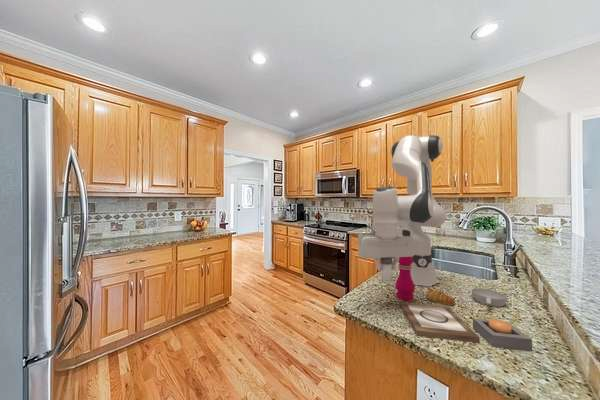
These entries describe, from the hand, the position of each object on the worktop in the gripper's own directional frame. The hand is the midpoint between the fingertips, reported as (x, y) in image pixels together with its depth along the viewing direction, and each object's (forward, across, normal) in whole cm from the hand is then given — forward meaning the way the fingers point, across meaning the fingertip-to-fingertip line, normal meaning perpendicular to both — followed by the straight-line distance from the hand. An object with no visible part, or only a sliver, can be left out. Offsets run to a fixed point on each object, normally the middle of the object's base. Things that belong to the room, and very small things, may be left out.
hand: (386, 269), depth 78 cm
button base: (+15, +24, -18) cm, 34 cm away
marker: (+4, 0, 0) cm, 4 cm away
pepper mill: (+15, +13, +10) cm, 23 cm away
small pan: (+16, +42, +2) cm, 45 cm away
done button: (+13, +24, -18) cm, 33 cm away
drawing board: (+15, +12, -8) cm, 21 cm away
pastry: (+16, +25, +7) cm, 31 cm away
